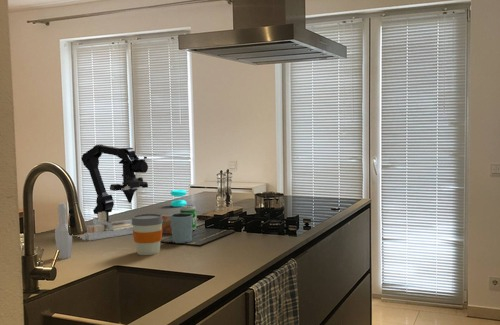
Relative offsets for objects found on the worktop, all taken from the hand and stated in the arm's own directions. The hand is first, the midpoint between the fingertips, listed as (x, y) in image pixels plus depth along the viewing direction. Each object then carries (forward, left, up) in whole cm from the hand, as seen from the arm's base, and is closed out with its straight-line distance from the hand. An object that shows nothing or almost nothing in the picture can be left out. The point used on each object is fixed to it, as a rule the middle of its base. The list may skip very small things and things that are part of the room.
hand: (129, 202), depth 275 cm
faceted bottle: (+40, -48, -13) cm, 64 cm away
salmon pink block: (+3, -21, -12) cm, 24 cm away
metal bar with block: (+7, -18, -9) cm, 21 cm away
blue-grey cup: (+48, +2, -13) cm, 50 cm away
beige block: (+9, -19, -10) cm, 24 cm away
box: (+6, -24, -12) cm, 27 cm away
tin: (+26, +6, -13) cm, 30 cm away
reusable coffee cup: (+56, -19, -13) cm, 61 cm away
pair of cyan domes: (-41, +53, -13) cm, 68 cm away
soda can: (+29, +17, -13) cm, 36 cm away
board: (+6, -10, -12) cm, 17 cm away
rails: (+6, -14, -12) cm, 20 cm away
